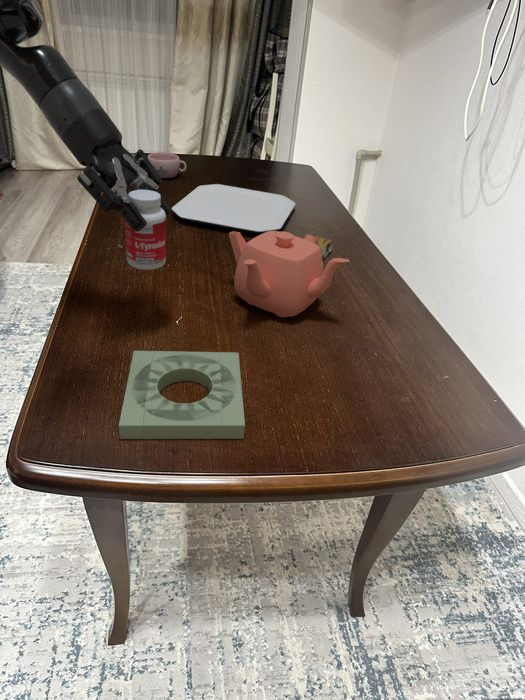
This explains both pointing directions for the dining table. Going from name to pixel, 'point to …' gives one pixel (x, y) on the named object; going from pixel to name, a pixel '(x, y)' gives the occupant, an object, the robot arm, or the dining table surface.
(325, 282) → the teapot
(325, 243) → the pastry
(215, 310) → the dining table surface
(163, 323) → the dining table surface
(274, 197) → the plate
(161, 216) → the pill bottle
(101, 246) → the dining table surface
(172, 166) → the mug
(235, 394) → the socket pad
